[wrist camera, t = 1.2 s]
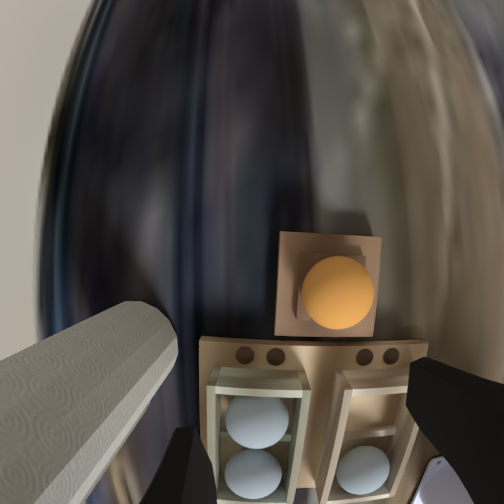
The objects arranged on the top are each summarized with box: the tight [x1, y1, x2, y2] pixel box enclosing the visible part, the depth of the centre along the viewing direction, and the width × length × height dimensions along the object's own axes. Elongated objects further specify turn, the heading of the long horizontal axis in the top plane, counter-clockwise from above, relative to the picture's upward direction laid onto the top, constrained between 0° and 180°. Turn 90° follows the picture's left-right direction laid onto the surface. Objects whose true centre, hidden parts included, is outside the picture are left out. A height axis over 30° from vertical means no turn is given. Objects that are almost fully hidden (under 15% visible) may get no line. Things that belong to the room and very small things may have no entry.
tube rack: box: [199, 336, 429, 504], centre depth 19 cm, size 16×13×4 cm
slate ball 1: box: [225, 395, 289, 449], centre depth 18 cm, size 4×4×4 cm
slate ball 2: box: [224, 448, 282, 499], centre depth 19 cm, size 4×4×4 cm
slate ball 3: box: [336, 446, 390, 495], centre depth 18 cm, size 4×4×4 cm
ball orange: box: [302, 256, 374, 329], centre depth 17 cm, size 4×4×4 cm
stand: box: [274, 231, 382, 337], centre depth 20 cm, size 6×6×2 cm
